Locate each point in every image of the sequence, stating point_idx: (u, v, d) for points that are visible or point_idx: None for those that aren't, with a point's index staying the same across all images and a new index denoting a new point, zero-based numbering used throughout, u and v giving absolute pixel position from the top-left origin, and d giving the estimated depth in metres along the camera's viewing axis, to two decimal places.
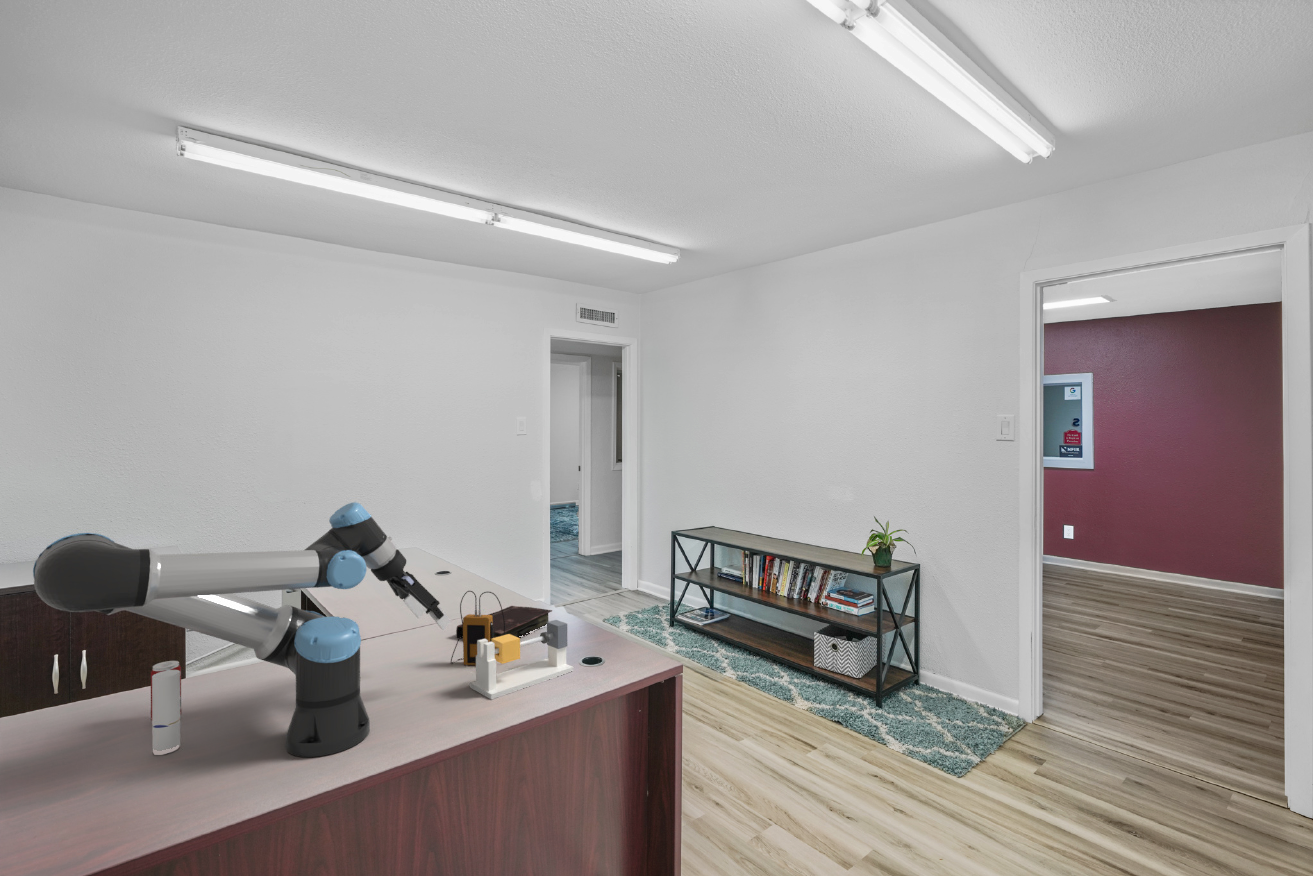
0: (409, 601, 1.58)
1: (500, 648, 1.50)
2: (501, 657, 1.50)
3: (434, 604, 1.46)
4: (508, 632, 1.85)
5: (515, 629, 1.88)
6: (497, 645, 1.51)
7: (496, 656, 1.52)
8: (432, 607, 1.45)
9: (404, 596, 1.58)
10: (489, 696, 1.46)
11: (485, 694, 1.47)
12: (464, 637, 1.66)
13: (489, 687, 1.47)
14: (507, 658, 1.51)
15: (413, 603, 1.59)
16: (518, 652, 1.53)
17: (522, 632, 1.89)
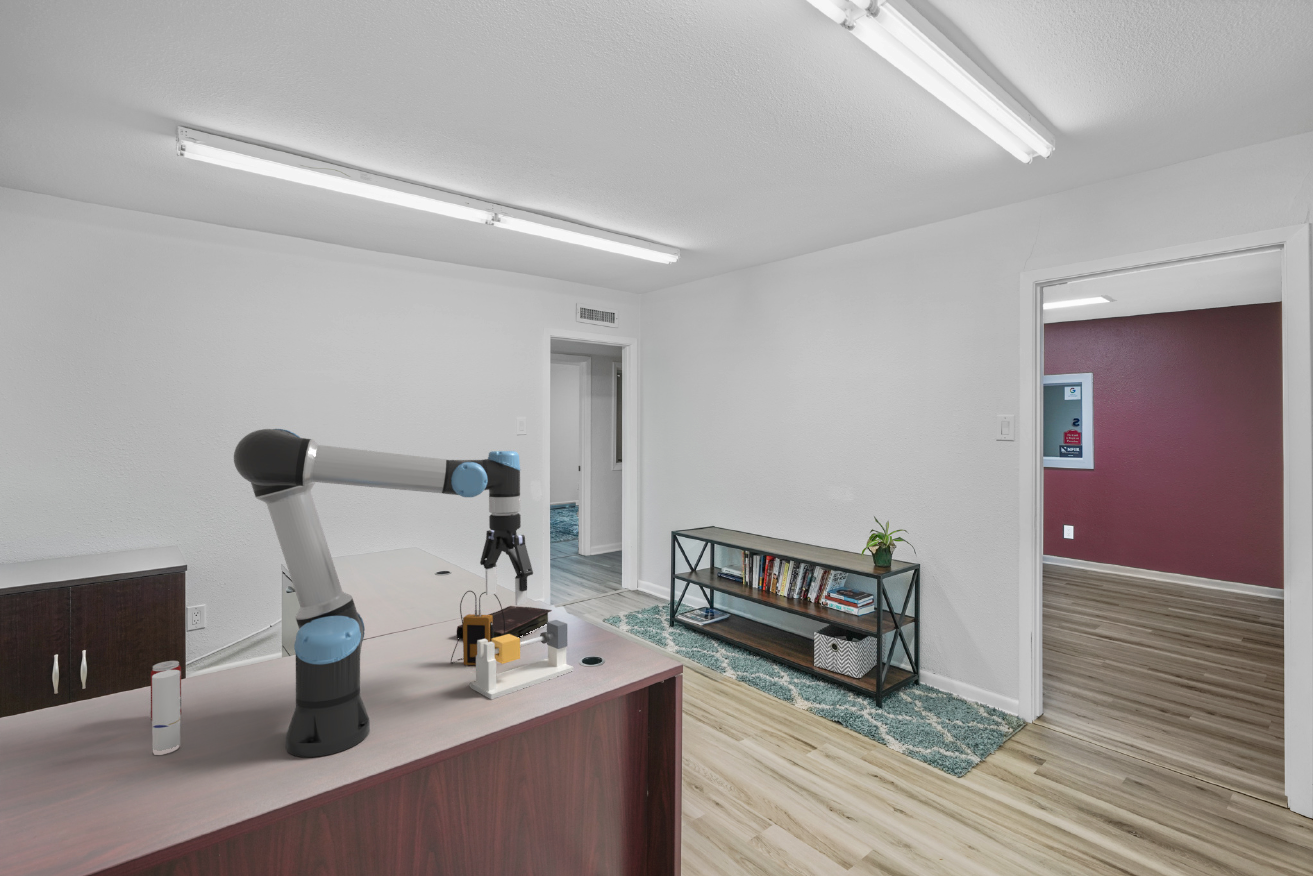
0: (490, 573, 1.57)
1: (500, 648, 1.50)
2: (501, 657, 1.50)
3: (528, 571, 1.46)
4: (509, 632, 1.85)
5: (516, 629, 1.88)
6: (497, 645, 1.51)
7: (496, 656, 1.52)
8: (526, 573, 1.46)
9: (488, 566, 1.58)
10: (489, 696, 1.46)
11: (485, 694, 1.47)
12: (464, 637, 1.66)
13: (489, 687, 1.47)
14: (507, 658, 1.51)
15: (491, 577, 1.58)
16: (518, 652, 1.53)
17: (523, 632, 1.89)
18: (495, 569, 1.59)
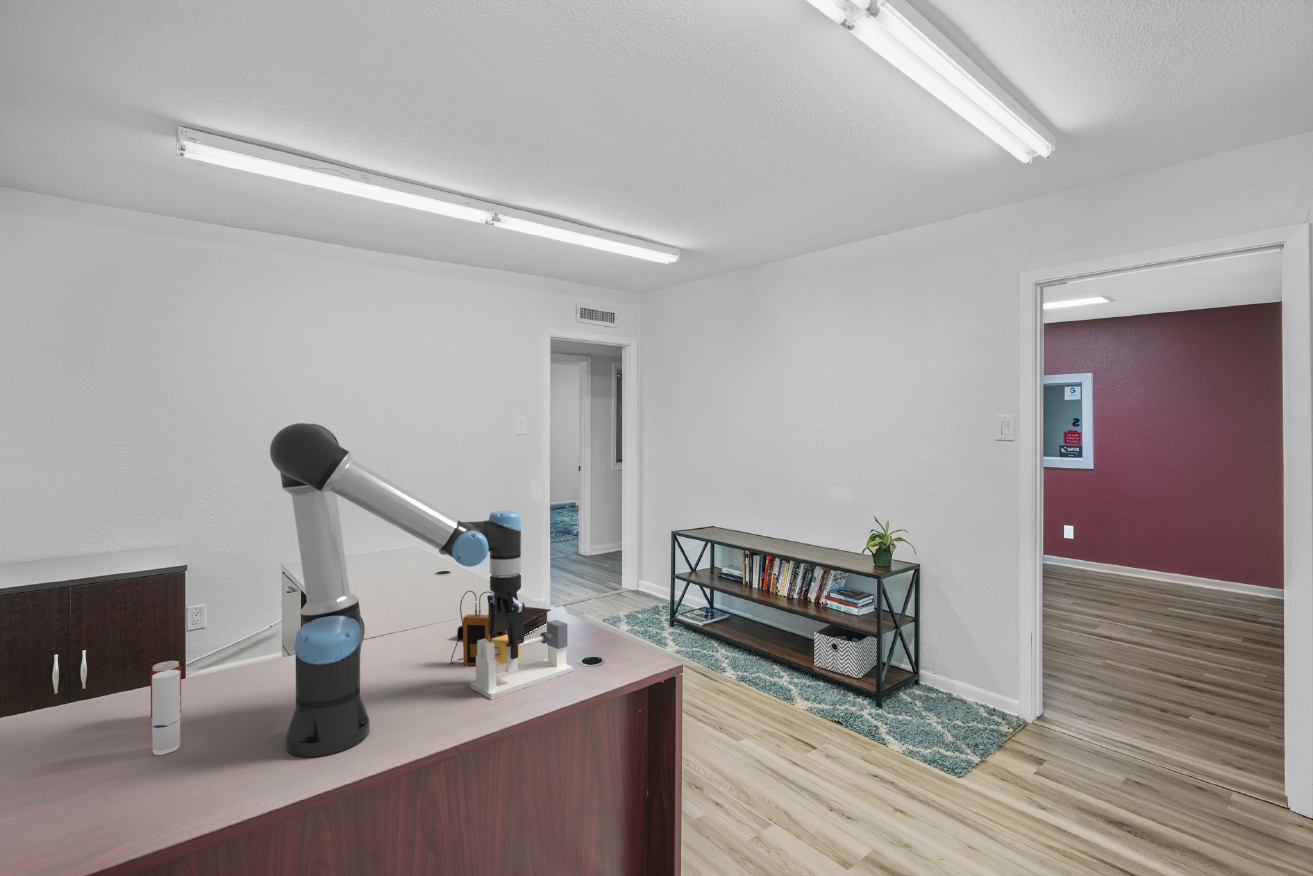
0: None
1: (500, 648, 1.50)
2: (501, 657, 1.50)
3: (520, 641, 1.49)
4: None
5: None
6: (497, 645, 1.51)
7: (496, 656, 1.52)
8: (517, 642, 1.49)
9: None
10: (489, 696, 1.46)
11: (485, 694, 1.47)
12: (464, 637, 1.66)
13: (489, 687, 1.47)
14: None
15: None
16: (518, 652, 1.53)
17: (524, 631, 1.90)
18: None
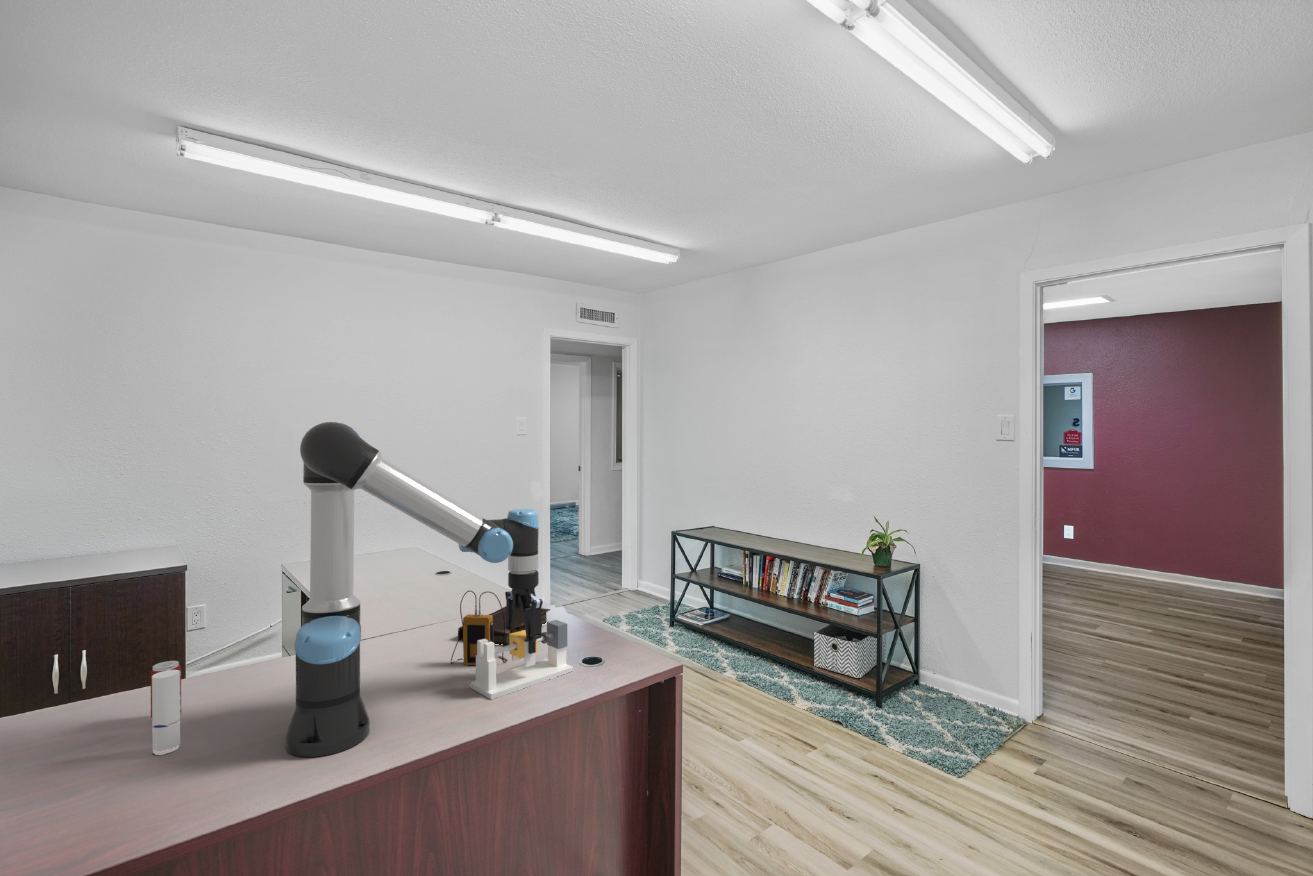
0: None
1: (518, 643, 1.54)
2: (519, 652, 1.54)
3: (537, 636, 1.53)
4: None
5: None
6: (515, 640, 1.55)
7: (514, 651, 1.55)
8: (535, 637, 1.52)
9: None
10: (489, 696, 1.46)
11: (485, 694, 1.47)
12: (464, 637, 1.66)
13: (489, 687, 1.47)
14: None
15: None
16: None
17: None
18: None
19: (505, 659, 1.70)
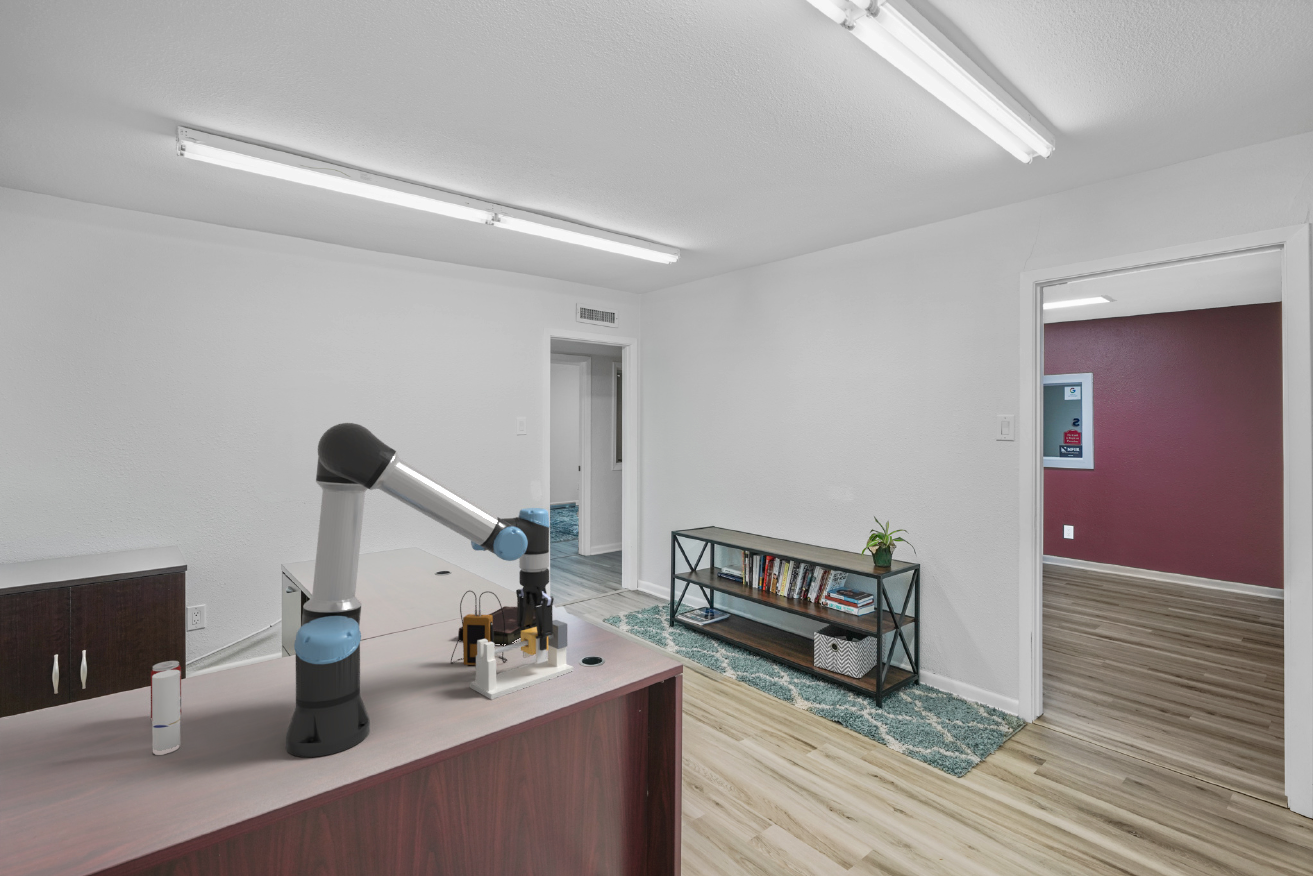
0: None
1: (529, 640, 1.56)
2: (530, 648, 1.56)
3: (549, 633, 1.55)
4: (514, 632, 1.86)
5: (520, 628, 1.89)
6: (526, 637, 1.57)
7: (525, 648, 1.58)
8: (546, 633, 1.55)
9: None
10: (489, 696, 1.46)
11: (485, 694, 1.47)
12: (464, 637, 1.66)
13: (489, 687, 1.47)
14: None
15: None
16: None
17: None
18: None
19: (505, 659, 1.70)
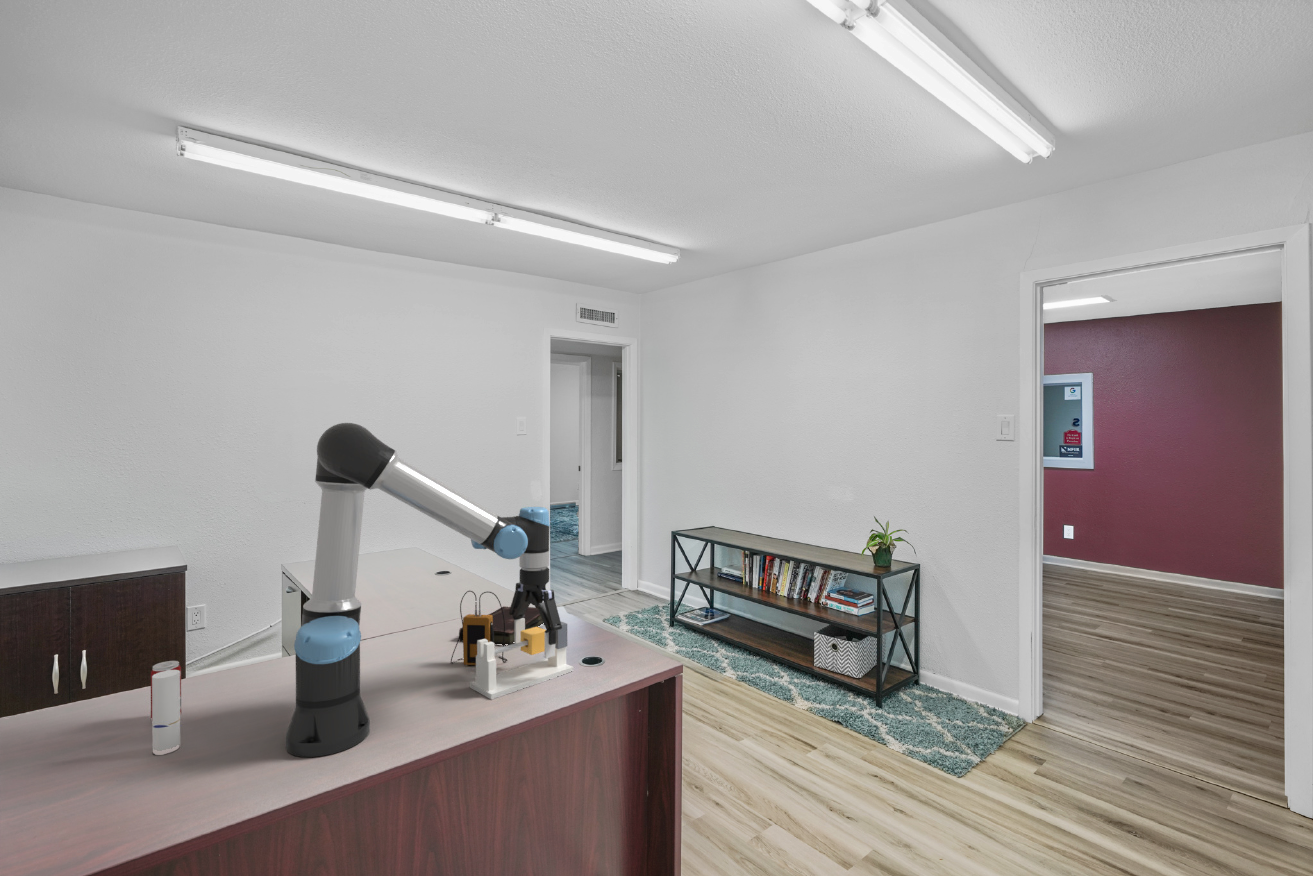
0: (518, 624, 1.63)
1: (529, 640, 1.56)
2: (530, 648, 1.56)
3: (558, 626, 1.52)
4: None
5: None
6: (526, 637, 1.57)
7: (525, 648, 1.58)
8: (555, 628, 1.52)
9: (517, 617, 1.64)
10: (489, 696, 1.46)
11: (485, 694, 1.47)
12: (464, 637, 1.66)
13: (489, 687, 1.47)
14: (536, 649, 1.57)
15: (520, 628, 1.64)
16: None
17: None
18: (523, 619, 1.65)
19: (505, 659, 1.70)
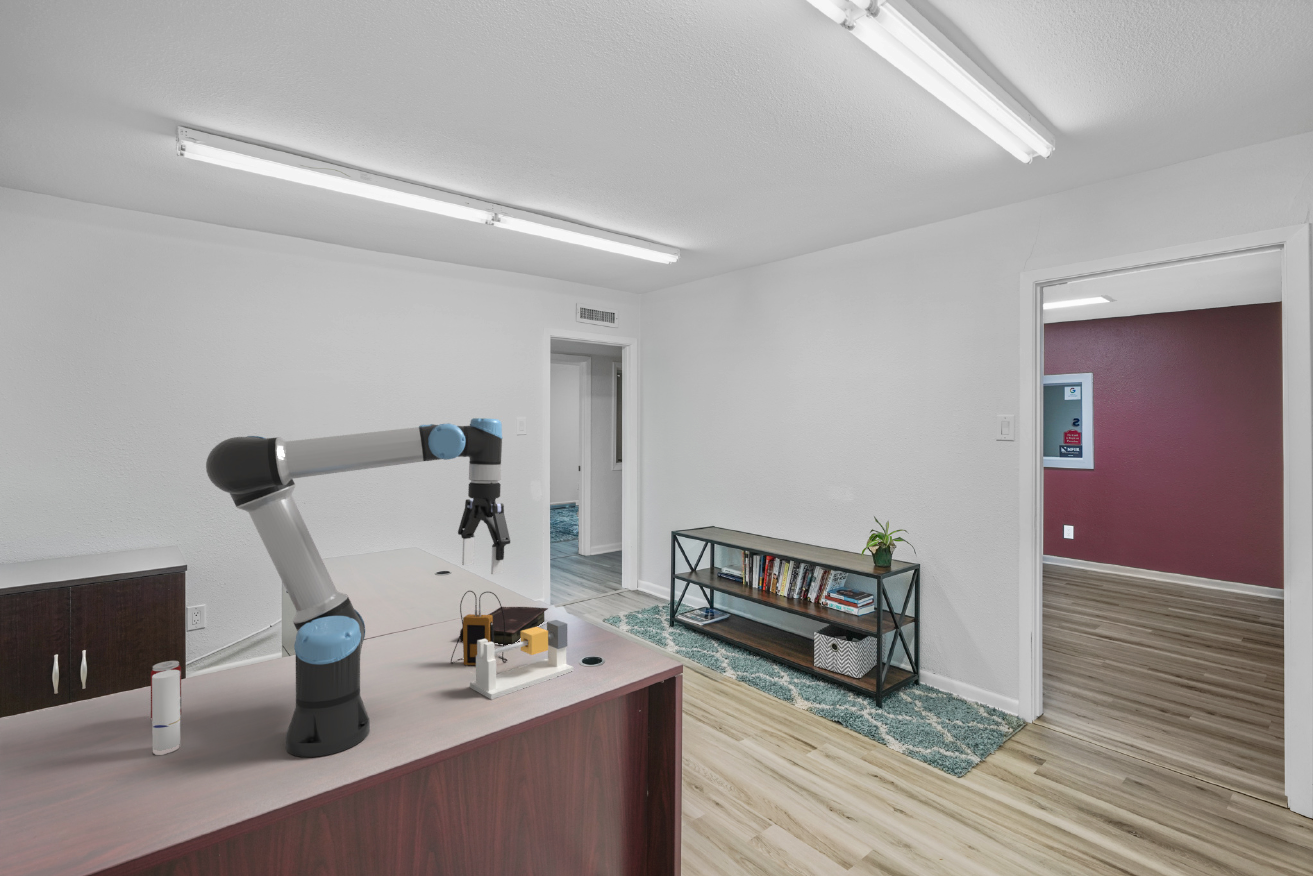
0: (467, 543, 1.55)
1: (529, 640, 1.56)
2: (530, 648, 1.56)
3: (506, 540, 1.44)
4: (517, 631, 1.86)
5: (522, 628, 1.89)
6: (526, 637, 1.57)
7: (525, 648, 1.58)
8: (503, 541, 1.43)
9: (466, 536, 1.56)
10: (489, 696, 1.46)
11: (485, 694, 1.47)
12: (464, 637, 1.66)
13: (489, 687, 1.47)
14: (536, 649, 1.57)
15: (469, 547, 1.55)
16: (546, 644, 1.59)
17: None
18: (473, 539, 1.56)
19: (505, 659, 1.70)
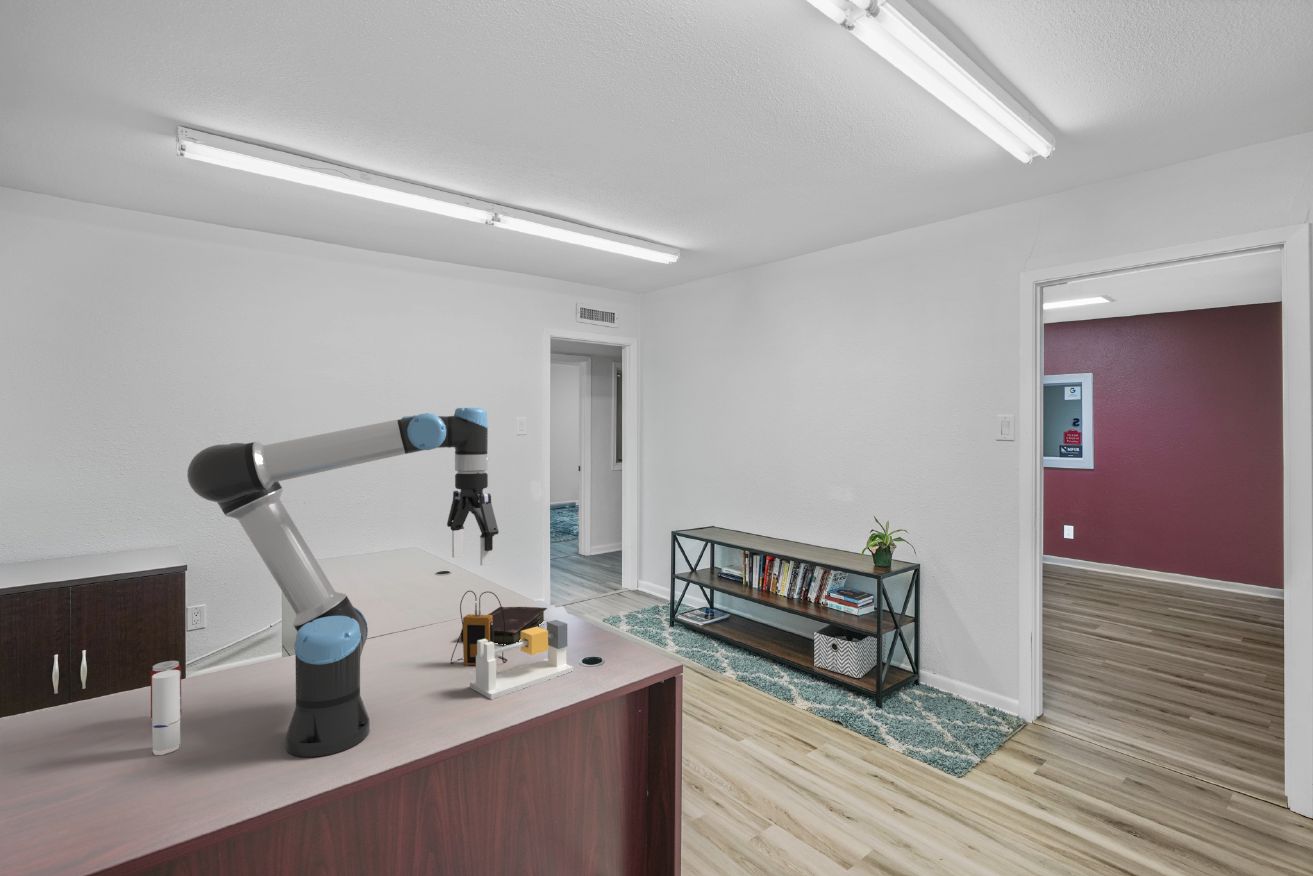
0: (456, 535, 1.53)
1: (529, 640, 1.56)
2: (530, 648, 1.56)
3: (494, 530, 1.42)
4: (518, 631, 1.86)
5: (523, 628, 1.89)
6: (526, 637, 1.57)
7: (525, 648, 1.58)
8: (491, 531, 1.41)
9: (455, 528, 1.54)
10: (489, 696, 1.46)
11: (485, 694, 1.47)
12: (464, 637, 1.66)
13: (489, 687, 1.47)
14: (536, 649, 1.57)
15: (458, 539, 1.53)
16: (546, 644, 1.59)
17: None
18: (462, 531, 1.54)
19: (505, 659, 1.70)
